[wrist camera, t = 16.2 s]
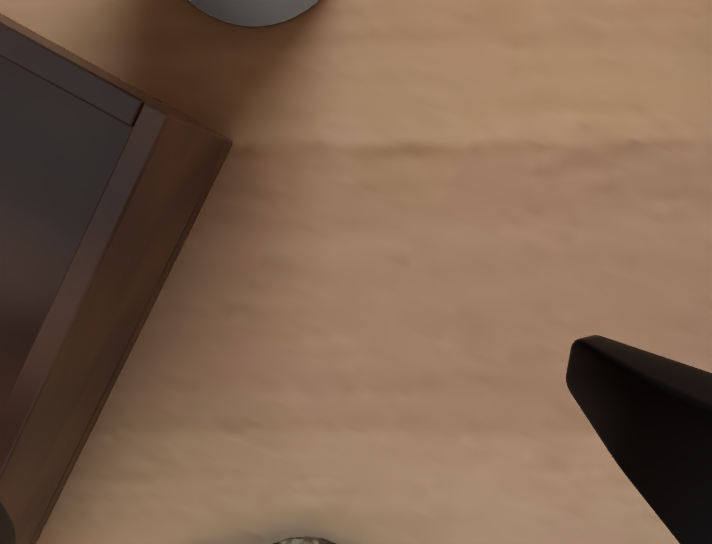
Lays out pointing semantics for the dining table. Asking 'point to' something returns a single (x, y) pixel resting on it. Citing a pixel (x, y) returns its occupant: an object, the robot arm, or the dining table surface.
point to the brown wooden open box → (79, 249)
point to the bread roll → (305, 541)
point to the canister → (253, 10)
